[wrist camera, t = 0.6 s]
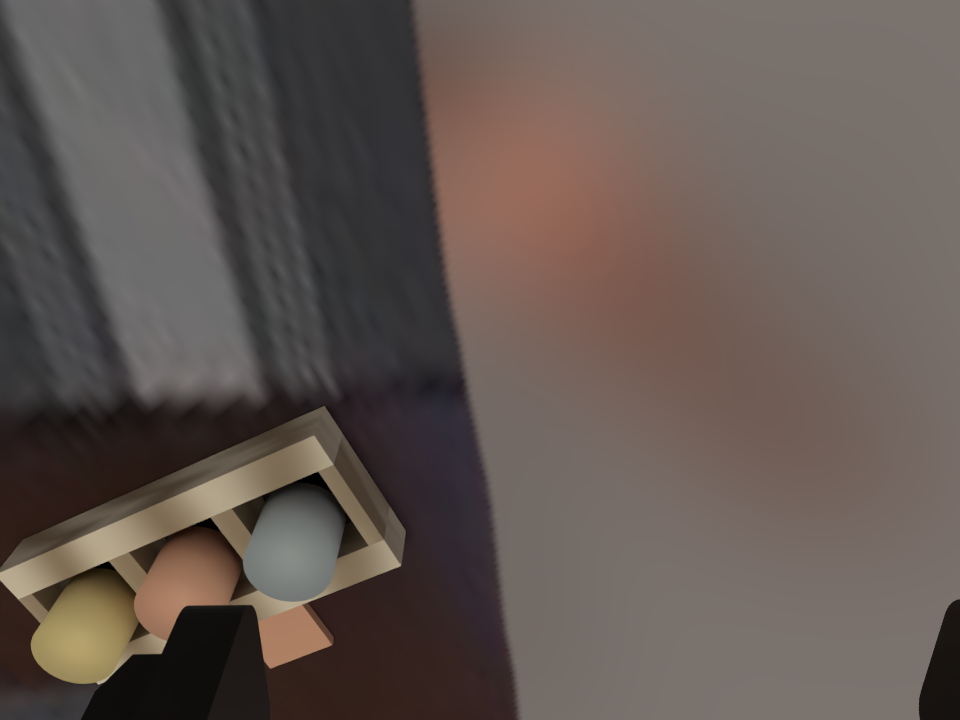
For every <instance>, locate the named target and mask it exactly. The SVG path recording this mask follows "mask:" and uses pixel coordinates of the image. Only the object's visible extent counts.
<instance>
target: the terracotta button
mask: <svg viewBox="0 0 960 720" xmlns="http://www.w3.org/2000/svg"><path fill="white" fill-rule="evenodd" d="M242 567H243V560H242V558H241V557H240V555H239V554H238V553H237V551H236V550H235V549H234V548H233V546H232V545H231V544H230V542H229V541H228V540H227V538H226V537H225V536H224V535H223V534H222V533H220V532H218V531H216V530H213V529H210V528H205V527H187V528H184V529H182V530H180V531H177V532H175V533H173V534H171V535H170V536H169V537H168V538H167V540H166V541H165V543H164V544H163V546H162V548H161V550H160V552H159V554H158V555H157V557H156V559H155V561H154V563H153V565H152V567H151V568H150V570H149V572H148V574H147V576H146V578H145V579H144V581H143V583H142V585H141V587H140V589H139V590H138V592H137V594H136V596H135V600H134V610H135V614H136V616H137V618H138V620H139V622H140V623H141V624H142V626H143V627H144V628H145V629H146V630H148V631H149V632H150V633H151V634H153V635H154V636H156V637H158V638H160V639H163V640H165V641H167V640H168V638H169V636H170V633H171V631H172V629H173V626H174V624H175V622H176V620H177V617H178V615H179V613H180V612H181V610H182V609H183V608H184V607H185V606H193V605H228V604H229V602H230V599H231V597H232V594H233V592H234V589H235V587H236V584H237V581H238V579H239V576H240V574H241V571H242Z"/></svg>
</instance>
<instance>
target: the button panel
mask: <svg viewBox="0 0 960 720" xmlns="http://www.w3.org/2000/svg"><path fill="white" fill-rule="evenodd" d="M316 472H319V473H320V475H321V476H322V478H323V479H324V481H325V482H326V484H327V485H328V487H329V488H330V489H331V491H332V492H333V494H334V495H335V497H336V498H337V500H338V501H339V503H340V504H341V506H342V507H343V509H344V510H345V512H346V513H347V514H348V516H349V517H350V519H351V520H352V522H349V523H347V524H345V528H344V532H343V536H342V540H341V544H340V548H339V552H338V556H337V560H336V565H335V569H334V573H333V577H332V580H331V582H330V584H329V586H328V587H327V588H326V589H325V590H324V591H323V592H322V593H321V594H319V595H318V596H316V597H314V598H311V599H308V600H305V601H298V602H287V601H281V600H277V599H274V598H271V597H269V596H267V595H265V594H263V593H261V592H260V591H259V590H257V589H256V588H255V587H254V586H253V585H252V584H251V583H250V581H249V580H248V578H247V576H246V574H245V571H244V567H242V571H241V574H240V576H239V579H238V581H237V584H236V587H235V589H234V592H233V594H232V597H231V599H230V602H229V604H228V605H252V606H253V607H254V608H255V610H256V614H257V618H258V622H259V621H261V620H264V619H267V618H269V617H272V616H274V615H277V614H279V613H282V612H284V611H287V610H290V609H292V608H295V607H297V606H300V605H302V604H305V603H307V602H310V601H312V600H315V599H318V598H320V597H323V596H325V595H328V594H330V593H333V592H335V591H338V590H341V589H343V588H346V587H348V586H351V585H353V584H356V583H358V582H361V581H363V580H366V579H369V578H371V577H374V576H376V575H379V574H381V573H384V572H386V571H389V570H392V569H394V568H397V567H399V566H401V563H402V556H403V548H404V541H405V534H406V530H405V529H404V527H403V526H402V524H401V523H400V521H399V520H398V518H397V516H396V515H395V513H394V512H393V510H392V509H391V507H390V506H389V504H388V503H387V501H386V500H385V498H384V496H383V495H382V493H381V492H380V490H379V489H378V487H377V486H376V484H375V483H374V481H373V480H372V478H371V477H370V475H369V473H368V472H367V470H366V469H365V467H364V466H363V464H362V463H361V461H360V460H359V458H358V457H357V455H356V453H355V452H354V450H353V449H352V447H351V446H350V444H349V443H348V441H347V440H346V438H345V437H344V435H343V433H342V432H341V430H340V429H339V427H338V426H337V424H336V423H335V421H334V420H333V418H332V417H331V415H330V413H329V412H328V410H327V409H326V407H325V406H323V407H321V408H318V409H316V410H314V411H312V412H309V413H307V414H305V415H303V416H300V417H298V418H296V419H294V420H291V421H289V422H287V423H285V424H282V425H280V426H278V427H276V428H273V429H271V430H269V431H267V432H264V433H262V434H260V435H258V436H255V437H253V438H251V439H249V440H246V441H244V442H242V443H240V444H237V445H235V446H233V447H231V448H228V449H226V450H224V451H222V452H219V453H217V454H215V455H212V456H210V457H208V458H206V459H203V460H201V461H199V462H197V463H194V464H192V465H190V466H188V467H185V468H183V469H181V470H179V471H176V472H174V473H172V474H170V475H167V476H165V477H163V478H161V479H158V480H156V481H154V482H152V483H149V484H147V485H145V486H143V487H140V488H138V489H136V490H134V491H131V492H129V493H127V494H125V495H122V496H120V497H118V498H116V499H113V500H111V501H109V502H107V503H104V504H102V505H100V506H98V507H95V508H93V509H91V510H89V511H86V512H84V513H82V514H80V515H77V516H75V517H73V518H71V519H68V520H66V521H64V522H62V523H59V524H57V525H55V526H53V527H50V528H48V529H46V530H44V531H41V532H39V533H37V534H34V535H32V536H30V537H28V538H25V539H23V540H22V541H21V543H20V544H19V545H18V546H17V548H16V549H15V550H14V552H13V553H12V554H11V555H10V557H9V558H8V559H7V560H6V562H5V563H4V564H3V566H2V567H1V568H0V580H1V581H2V583H3V584H4V585H5V586H6V587H7V588H8V589H9V590H10V591H11V592H12V593H13V594H14V595H15V596H16V597H17V598H18V600H19V601H20V602H21V603H22V604H23V605H24V606H25V607H26V608H27V609H28V610H29V611H30V612H31V613H32V614H33V615H34V617H35V618H36V619H37V620H38V621H39V622H40V623H42V622H43V620H44V619H45V617H46V616H47V614H48V613H49V611H50V609H51V608H52V606H53V605H54V603H55V602H56V600H57V599H58V597H59V596H60V594H61V593H62V591H63V590H64V588H65V587H66V585H67V584H68V582H69V581H70V579H71V578H72V577H73V576H74V575H76V574H79V573H81V572H84V571H86V570H88V569H91V568H93V567H95V566H98V565H100V564H102V563H105V562H107V561H109V562H110V563H111V564H112V565H113V567H114V568H115V569H116V570H117V571H118V572H119V574H120V575H121V576H122V577H123V578H124V579H125V581H126V582H127V583H128V584H129V585H130V586H131V588H132V589H133V590H134V591H135V592H136V593H137V592H138V590H139V589H140V587H141V585H142V583H143V581H144V579H145V578H146V576H147V574H148V572H149V570H150V568H151V567H152V565H153V563H154V561H155V559H156V557H157V555H158V554H159V552H160V550H161V548H162V546H163V544H164V543H165V541H166V539H165V537H166V536H168V535H170V534H173V533H175V532H177V531H180V530H182V529H184V528H187V527H189V526H191V525H194V524H196V523H198V522H201V521H203V520H205V519H208V518H211V519H212V520H213V522H214V523H215V524H216V525H217V527H218V528H219V529H220V531H221V532H222V533H223V535H224V536H225V537H226V538H227V540H228V541H229V542H230V544H231V545H232V546H233V548H234V549H235V550H236V551H237V553H238V554H239V555H240V557H241V558H242V559H243V558H244V554H245V551H246V549H247V546H248V544H249V541H250V539H251V536H252V534H253V531H254V529H255V526H256V524H257V521H258V519H259V516H260V514H261V511H262V509H263V506H264V504H265V501H264V499H263V498H262V497H261V496H262V495H264V494H266V493H269V492H271V491H273V490H276V489H278V488H280V487H283V486H285V485H287V484H290V483H292V482H294V481H297V480H299V479H301V478H304V477H306V476H308V475H311V474H313V473H316ZM166 642H167V641H165V640H163V639H160V638H158V637H156V636H154V635H153V634H151V633H150V632H149V631H148V630H146V629H145V628H144V627H143V626H142V624H141V623H140V622H139V623H138V625H137V627H136V629H135V631H134V633H133V635H132V637H131V639H130V641H129V643H128V645H127V647H126V648H125V650H124V652H123V654H122V656H121V658H120V660H119V662H118V664H117V666H116V668H115V670H114V671H113V672H112V674H113V673H114V672H115V671H116V670H117V669H118V668H119V667H120V666H122V665H123V664H124V663H125V662H126V661H127V660H128V659H129V658H130V657H131V656H132V655H133V654H162V651H163V649H164V647H165V645H166ZM112 674H111V675H112ZM111 675H109V676H108V677H107V678H105V679H103V680H101V681H98V682H97V684H101V683H103V682H105V681H106V680H107V679H108V678H109V677H110V676H111Z"/></svg>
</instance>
